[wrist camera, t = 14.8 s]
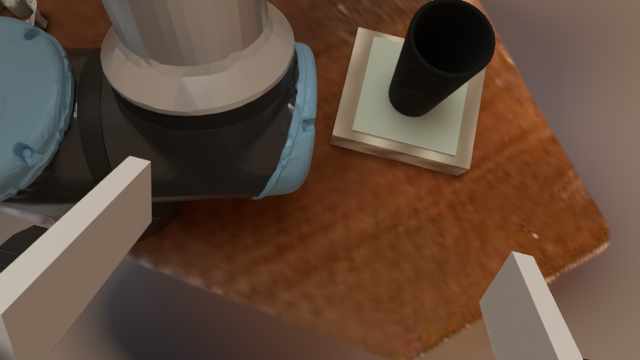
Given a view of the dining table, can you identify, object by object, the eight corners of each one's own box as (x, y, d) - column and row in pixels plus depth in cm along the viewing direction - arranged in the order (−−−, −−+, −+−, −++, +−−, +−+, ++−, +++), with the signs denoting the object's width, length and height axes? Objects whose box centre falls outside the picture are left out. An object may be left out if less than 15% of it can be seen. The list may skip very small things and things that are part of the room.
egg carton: (-3, 3, 50) (-29, -21, 46) (58, 15, 50) (37, -7, 46) (-36, 80, 47) (-66, 63, 43) (28, 93, 47) (4, 77, 43)
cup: (396, 53, 47) (430, -17, 35) (454, 82, 47) (508, 21, 35) (368, 107, 46) (394, 52, 34) (428, 137, 45) (476, 92, 34)
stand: (329, 143, 48) (332, 133, 45) (354, 42, 52) (359, 24, 48) (457, 176, 49) (471, 168, 45) (474, 73, 52) (489, 58, 48)
